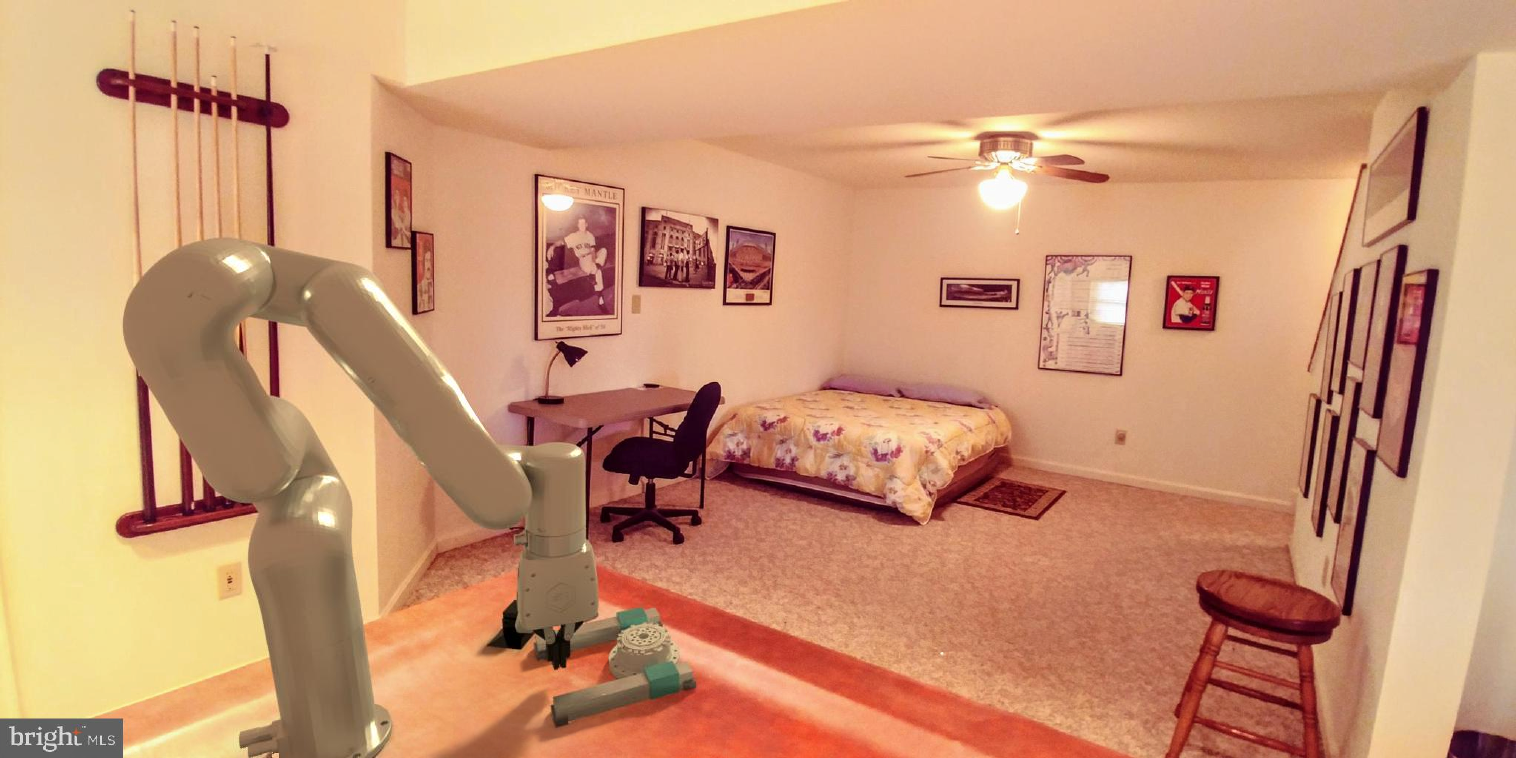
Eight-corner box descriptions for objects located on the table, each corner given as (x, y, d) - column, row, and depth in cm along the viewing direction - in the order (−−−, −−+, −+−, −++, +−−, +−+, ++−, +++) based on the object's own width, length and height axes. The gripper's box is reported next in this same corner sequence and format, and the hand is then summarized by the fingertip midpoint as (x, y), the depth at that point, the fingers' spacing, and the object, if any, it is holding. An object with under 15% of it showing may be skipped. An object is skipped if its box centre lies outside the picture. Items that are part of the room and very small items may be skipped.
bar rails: (555, 727, 91) (553, 707, 91) (533, 648, 107) (532, 631, 107) (696, 687, 99) (695, 668, 98) (656, 619, 115) (656, 602, 114)
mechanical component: (598, 682, 100) (669, 689, 99) (597, 653, 99) (668, 660, 98) (622, 639, 110) (687, 646, 109) (621, 613, 109) (686, 619, 107)
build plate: (520, 660, 106) (518, 632, 104) (474, 654, 107) (471, 626, 106) (559, 613, 117) (557, 588, 116) (516, 608, 119) (514, 583, 118)
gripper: (498, 559, 89) (503, 692, 93) (620, 541, 95) (619, 667, 99) (492, 534, 96) (497, 659, 100) (606, 519, 102) (606, 637, 106)
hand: (558, 663), depth 99 cm, fingers closed
